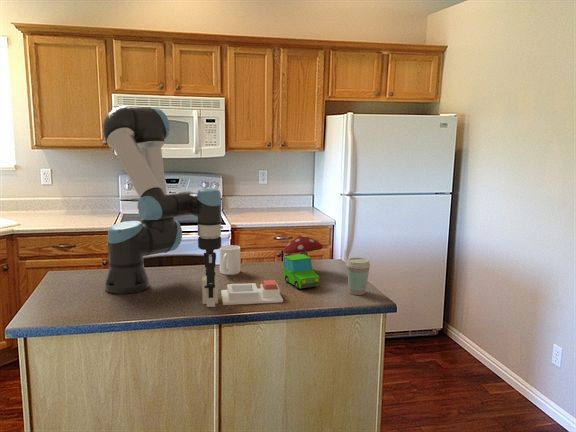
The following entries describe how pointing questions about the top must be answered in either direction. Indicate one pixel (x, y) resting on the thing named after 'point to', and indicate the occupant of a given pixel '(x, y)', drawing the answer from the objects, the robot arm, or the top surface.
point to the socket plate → (249, 294)
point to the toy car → (300, 271)
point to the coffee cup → (357, 275)
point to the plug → (204, 283)
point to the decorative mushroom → (302, 245)
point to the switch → (269, 284)
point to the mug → (229, 259)
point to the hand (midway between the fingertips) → (210, 300)
